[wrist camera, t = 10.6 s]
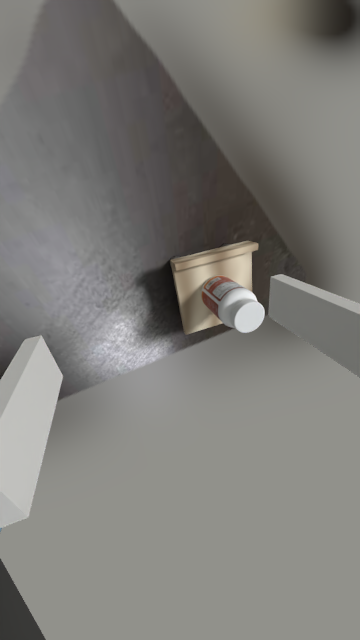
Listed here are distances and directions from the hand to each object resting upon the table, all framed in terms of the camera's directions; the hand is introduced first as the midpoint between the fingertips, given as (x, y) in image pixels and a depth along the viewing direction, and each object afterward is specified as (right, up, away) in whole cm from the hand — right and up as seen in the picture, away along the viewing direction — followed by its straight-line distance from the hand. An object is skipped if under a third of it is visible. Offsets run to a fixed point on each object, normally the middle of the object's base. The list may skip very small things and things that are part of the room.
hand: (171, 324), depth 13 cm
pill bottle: (+7, +5, +27) cm, 29 cm away
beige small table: (+5, +8, +32) cm, 34 cm away
